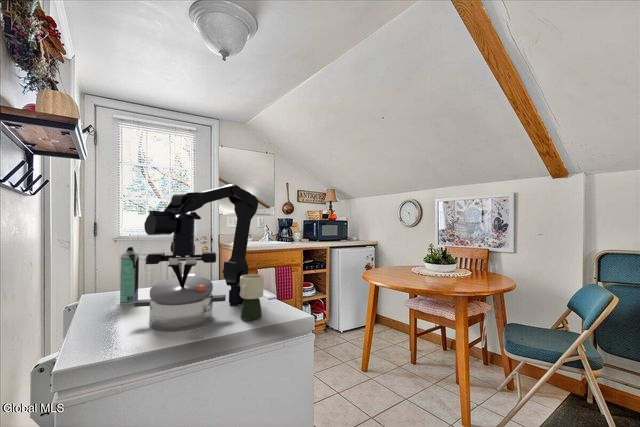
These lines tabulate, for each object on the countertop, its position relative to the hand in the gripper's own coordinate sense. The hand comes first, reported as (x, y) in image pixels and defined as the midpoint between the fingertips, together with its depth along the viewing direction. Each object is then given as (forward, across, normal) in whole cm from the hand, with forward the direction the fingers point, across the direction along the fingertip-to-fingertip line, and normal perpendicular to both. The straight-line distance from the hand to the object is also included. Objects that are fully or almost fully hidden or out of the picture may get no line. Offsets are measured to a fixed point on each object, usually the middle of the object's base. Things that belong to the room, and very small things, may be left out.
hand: (182, 286), depth 90 cm
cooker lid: (+1, 0, -1) cm, 2 cm away
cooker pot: (+10, 0, 0) cm, 10 cm away
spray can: (+10, +21, -26) cm, 34 cm away
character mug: (+10, -20, +3) cm, 23 cm away
